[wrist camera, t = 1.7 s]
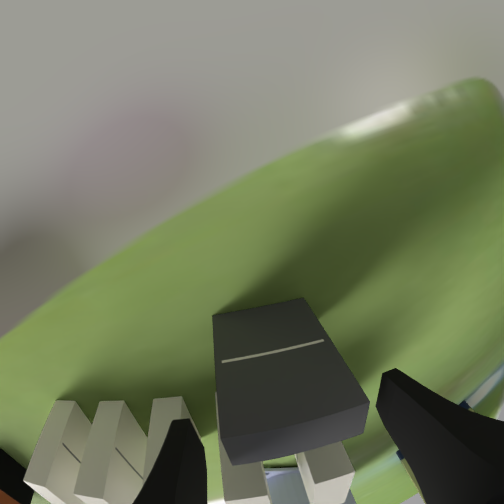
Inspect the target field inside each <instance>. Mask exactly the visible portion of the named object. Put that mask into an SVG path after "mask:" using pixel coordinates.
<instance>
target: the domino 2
mask: <svg viewBox="0 0 504 504" xmlns="http://www.w3.org/2000/svg"><path fill="white" fill-rule="evenodd" d="M147 439H148V438H147V436H146V435H145V433H144V432H143V430H142V429H141V427H140V426H139V424H138V422H137V421H136V419H135V418H134V416H133V414H132V413H131V411H130V410H129V408H128V406H127V405H126V403H125V401H124V400H121V401H100V402H99V405H98V408H97V411H96V414H95V417H94V420H93V423H92V426H91V430H90V433H89V436H88V439H87V443H86V446H85V450H84V453H83V457H82V461H81V464H80V468H79V472H78V476H77V480H76V484H75V488H74V493H73V494H74V495H75V496H77V497H78V498H79V499H80V500H82V501H83V502H84V503H86V504H132V503H133V502H134V500H135V499H136V497H137V495H138V494H139V492H140V490H141V489H142V483H143V473H144V464H145V455H146V447H147Z"/></svg>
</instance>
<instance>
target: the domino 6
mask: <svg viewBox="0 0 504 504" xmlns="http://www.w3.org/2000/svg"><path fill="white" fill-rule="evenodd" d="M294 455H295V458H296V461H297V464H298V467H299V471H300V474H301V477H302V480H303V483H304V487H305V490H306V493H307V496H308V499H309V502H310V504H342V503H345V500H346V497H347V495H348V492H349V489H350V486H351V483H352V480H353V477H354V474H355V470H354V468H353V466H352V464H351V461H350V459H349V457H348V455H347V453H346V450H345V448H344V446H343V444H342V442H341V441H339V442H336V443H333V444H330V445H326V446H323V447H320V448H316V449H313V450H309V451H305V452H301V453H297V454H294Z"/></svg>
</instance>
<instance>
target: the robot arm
mask: <svg viewBox="0 0 504 504" xmlns="http://www.w3.org/2000/svg"><path fill="white" fill-rule="evenodd" d="M376 408H377V411H378V413H379V415H380V418H381V420H382V422H383V424H384V426H385V428H386V429H387V431H388V433H389V434H390V436H391V437H392V439H393V441H394V442H395V444H396V445H397V447H398V449H399V450H400V452H401V453H402V455H403V456H404V458H405V460H406V461H407V463H408V464H409V466H410V468H411V470H412V472H413V474H414V476H415V478H416V480H417V483H418V485H419V487H420V490H421V492H422V495H423V497H424V500H425V502H426V504H504V421H500V420H496V419H493V418H489V417H486V416H483V415H480V414H478V413H475V412H472V411H470V410H468V409H465V408H463V407H461V406H459V405H457V404H455V403H453V402H451V401H449V400H447V399H445V398H443V397H442V396H440V395H438V394H436V393H435V392H433V391H431V390H430V389H428V388H426V387H425V386H423V385H422V384H420V383H418V382H417V381H415V380H414V379H412V378H411V377H409V376H407V375H406V374H404V373H403V372H401V371H400V370H398V369H397V368H394V369H392V370H389V371H387V372H384V373H382V378H381V383H380V388H379V393H378V398H377V402H376ZM264 469H265V474H266V478H267V483H268V487H269V492H270V496H271V500H272V504H310V502H309V499H308V496H307V493H306V490H305V487H304V483H303V480H302V477H301V474H300V471H299V467H293V468H264ZM132 504H207V467H206V459H205V451H204V446H203V444H202V442H201V440H200V439H199V437H198V435H197V433H196V431H195V429H194V427H193V424H192V422H191V420H190V418H187V419H176V420H173V421H172V422H171V424H170V427H169V430H168V432H167V435H166V438H165V440H164V443H163V445H162V448H161V450H160V452H159V455H158V457H157V459H156V461H155V463H154V465H153V468H152V470H151V472H150V474H149V476H148V477H147V479H146V481H145V483H144V485H143V487H142V489H141V490H140V492H139V494H138V495H137V497H136V499H135V500H134V502H133V503H132ZM342 504H356V502H355V500H354V497H353V495H352V493H351V490H350V489H349V492H348V495H347V497H346V500H345V503H342Z"/></svg>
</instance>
